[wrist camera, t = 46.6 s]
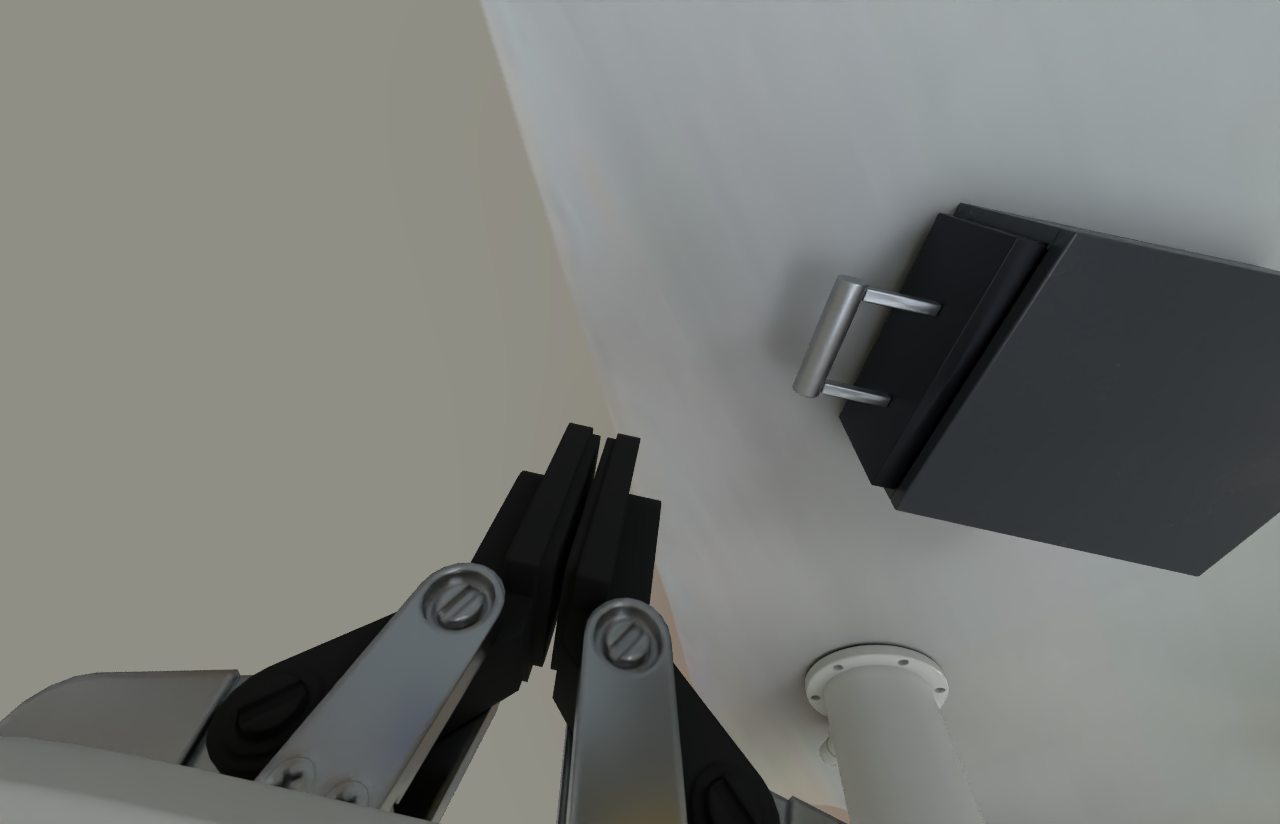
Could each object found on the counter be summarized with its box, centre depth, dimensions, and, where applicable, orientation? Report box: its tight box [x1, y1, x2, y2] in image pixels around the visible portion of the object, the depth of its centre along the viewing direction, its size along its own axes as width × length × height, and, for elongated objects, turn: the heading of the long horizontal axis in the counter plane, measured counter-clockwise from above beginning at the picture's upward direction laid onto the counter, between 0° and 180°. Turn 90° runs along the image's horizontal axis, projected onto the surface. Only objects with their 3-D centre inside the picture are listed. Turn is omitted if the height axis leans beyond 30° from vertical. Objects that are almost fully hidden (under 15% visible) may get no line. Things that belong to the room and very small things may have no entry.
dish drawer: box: [792, 213, 1047, 489], centre depth 23 cm, size 19×12×7 cm, turn 80°
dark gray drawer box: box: [884, 203, 1280, 576], centre depth 23 cm, size 16×14×9 cm
